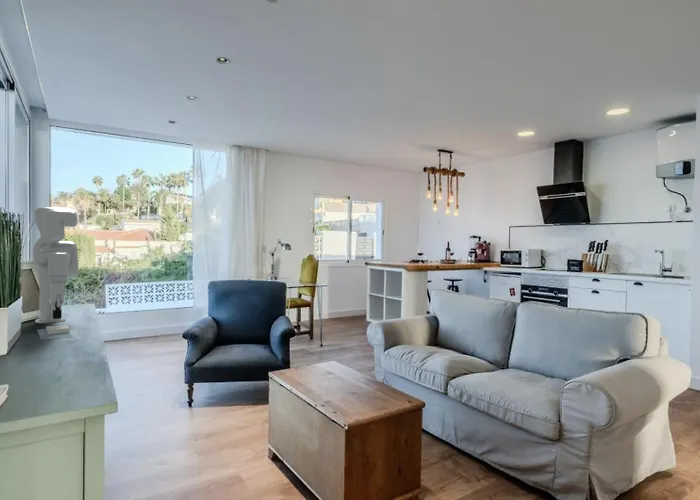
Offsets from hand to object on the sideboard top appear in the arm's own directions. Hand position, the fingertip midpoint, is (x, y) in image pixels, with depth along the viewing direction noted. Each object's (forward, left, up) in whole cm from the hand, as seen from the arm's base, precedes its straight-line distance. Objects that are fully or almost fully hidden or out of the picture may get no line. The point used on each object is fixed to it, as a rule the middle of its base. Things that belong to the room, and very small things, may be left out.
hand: (57, 318), depth 191 cm
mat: (+5, -1, -6) cm, 8 cm away
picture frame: (-1, 0, -5) cm, 5 cm away
